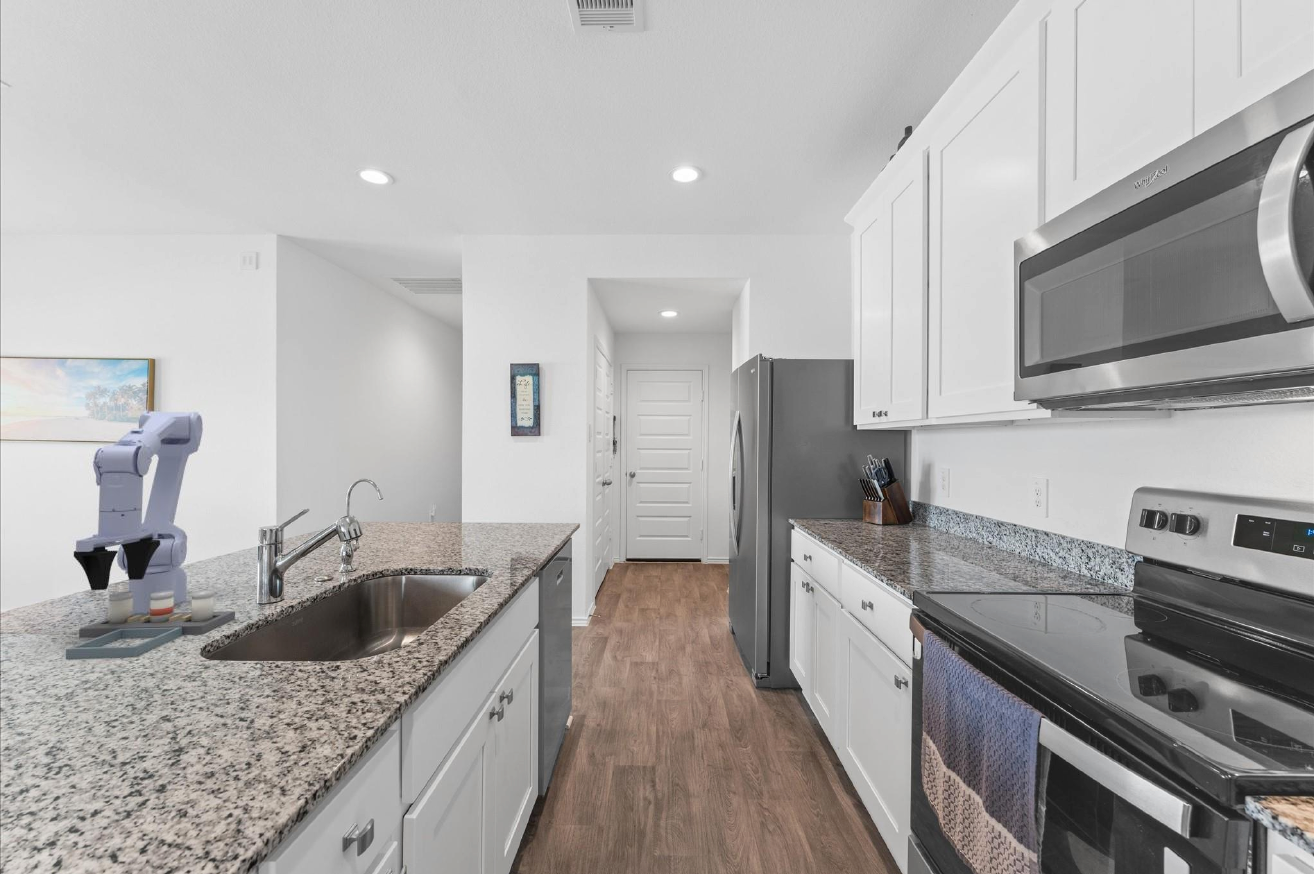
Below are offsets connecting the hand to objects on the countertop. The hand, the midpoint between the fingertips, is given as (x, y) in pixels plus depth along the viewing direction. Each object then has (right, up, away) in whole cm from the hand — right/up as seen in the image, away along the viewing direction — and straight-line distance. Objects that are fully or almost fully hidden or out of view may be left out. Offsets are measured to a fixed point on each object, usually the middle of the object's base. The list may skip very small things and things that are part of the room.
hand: (118, 584), depth 100 cm
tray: (+10, -9, -8) cm, 16 cm away
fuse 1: (0, -8, +1) cm, 8 cm away
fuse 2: (+13, -9, +2) cm, 16 cm away
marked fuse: (+7, -9, +2) cm, 11 cm away
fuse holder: (+7, -10, +2) cm, 12 cm away
